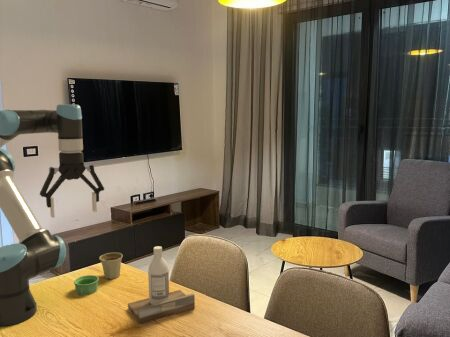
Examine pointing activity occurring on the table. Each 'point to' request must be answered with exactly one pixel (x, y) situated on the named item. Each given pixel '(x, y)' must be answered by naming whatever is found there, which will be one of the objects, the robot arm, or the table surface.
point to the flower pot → (111, 264)
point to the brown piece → (161, 307)
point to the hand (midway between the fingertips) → (74, 213)
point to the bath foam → (158, 278)
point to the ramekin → (86, 284)
